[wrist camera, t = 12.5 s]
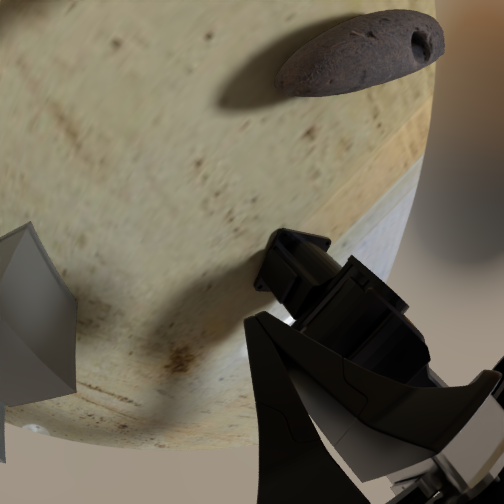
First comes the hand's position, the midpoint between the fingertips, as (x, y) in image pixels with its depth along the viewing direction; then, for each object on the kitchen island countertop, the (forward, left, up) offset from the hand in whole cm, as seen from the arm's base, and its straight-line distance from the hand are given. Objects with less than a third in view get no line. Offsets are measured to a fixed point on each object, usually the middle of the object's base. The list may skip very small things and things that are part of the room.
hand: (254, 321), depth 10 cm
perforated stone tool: (-7, -15, -12) cm, 21 cm away
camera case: (+12, +9, -12) cm, 19 cm away
